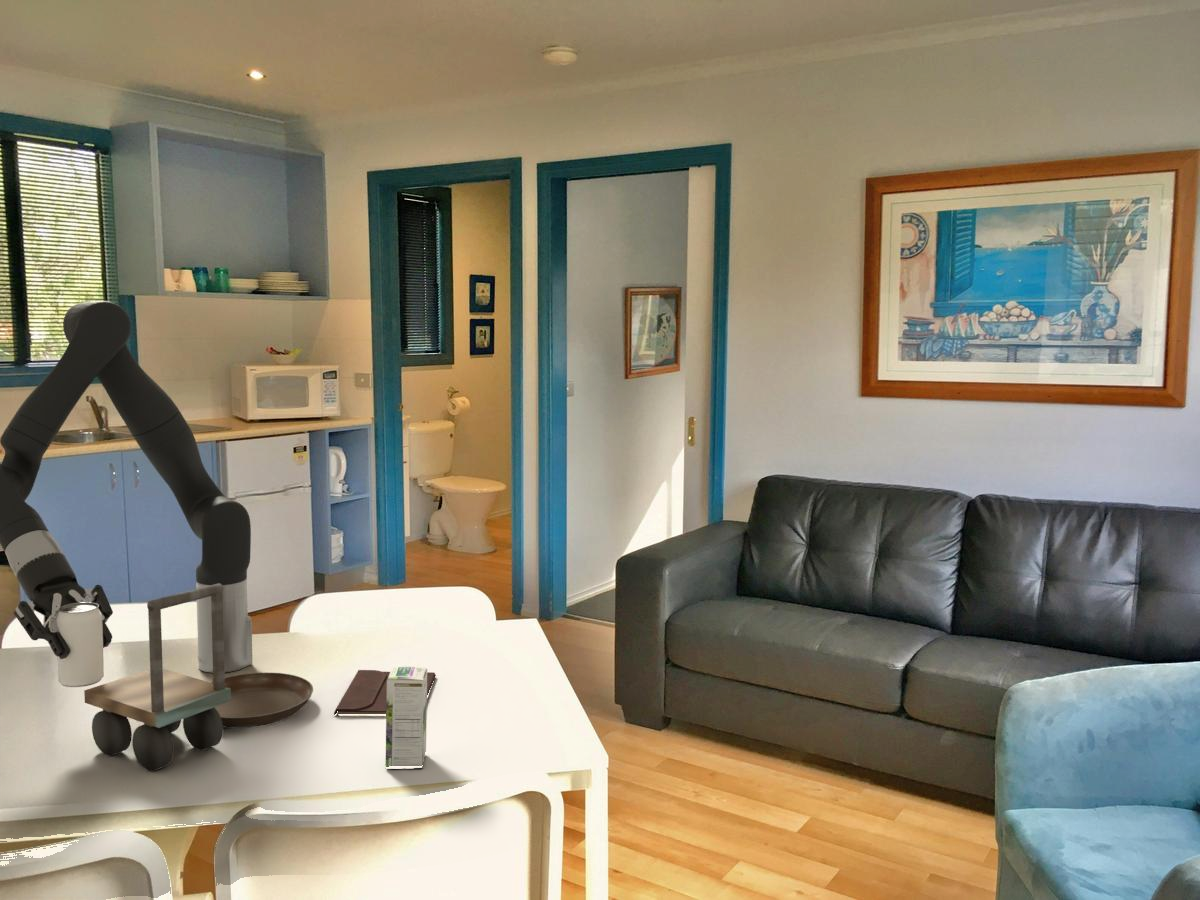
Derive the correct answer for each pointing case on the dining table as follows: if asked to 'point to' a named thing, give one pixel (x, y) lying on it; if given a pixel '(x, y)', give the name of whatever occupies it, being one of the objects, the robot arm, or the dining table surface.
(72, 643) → the can
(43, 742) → the dining table surface
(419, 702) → the syrup box
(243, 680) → the plant saucer
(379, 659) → the dining table surface
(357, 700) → the notebook
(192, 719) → the trolley
